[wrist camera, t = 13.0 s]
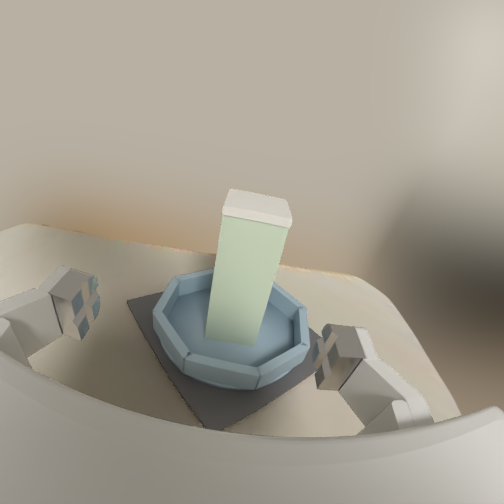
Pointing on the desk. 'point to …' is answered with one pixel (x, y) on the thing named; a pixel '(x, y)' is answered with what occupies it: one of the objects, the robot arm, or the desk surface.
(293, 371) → the mat
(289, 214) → the tea tin
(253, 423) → the desk surface
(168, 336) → the bowl
